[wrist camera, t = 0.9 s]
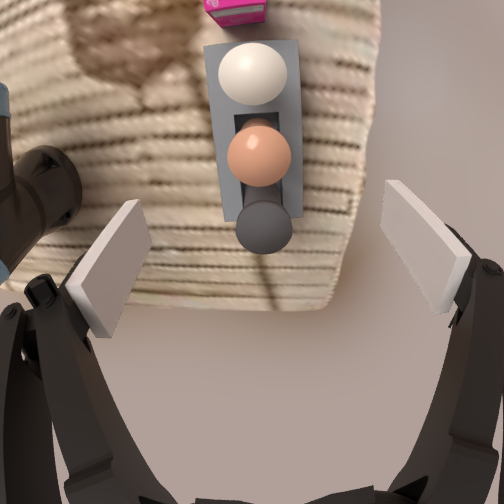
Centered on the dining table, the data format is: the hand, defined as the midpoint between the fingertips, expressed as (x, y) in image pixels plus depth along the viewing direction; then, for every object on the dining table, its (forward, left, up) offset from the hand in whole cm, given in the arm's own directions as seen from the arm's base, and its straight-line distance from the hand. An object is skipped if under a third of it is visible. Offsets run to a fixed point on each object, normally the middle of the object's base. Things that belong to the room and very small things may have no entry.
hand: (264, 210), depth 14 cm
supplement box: (-1, +17, -26) cm, 31 cm away
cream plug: (0, +7, -20) cm, 21 cm away
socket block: (0, 0, -26) cm, 26 cm away
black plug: (0, -7, -20) cm, 21 cm away
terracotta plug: (0, 0, -20) cm, 20 cm away
